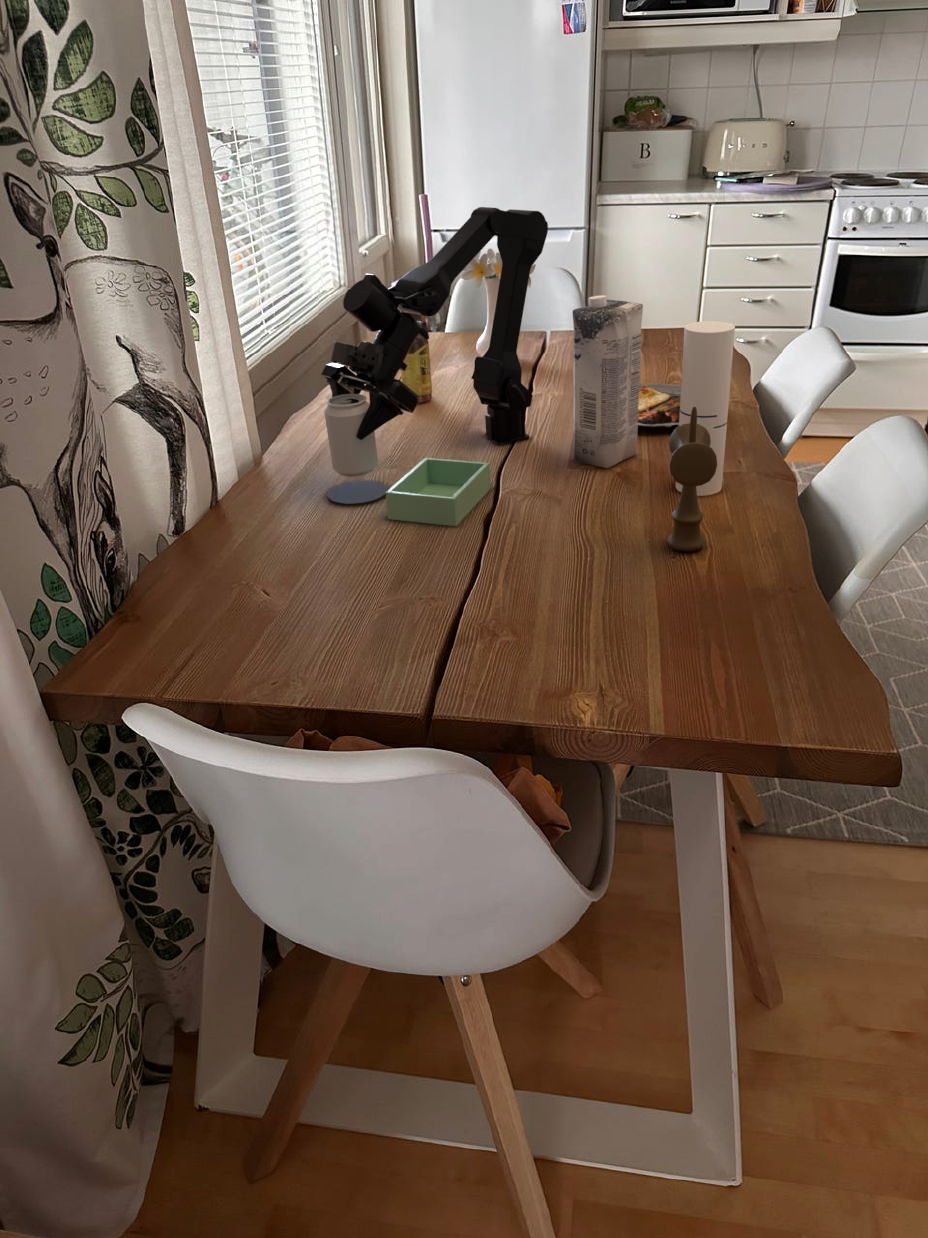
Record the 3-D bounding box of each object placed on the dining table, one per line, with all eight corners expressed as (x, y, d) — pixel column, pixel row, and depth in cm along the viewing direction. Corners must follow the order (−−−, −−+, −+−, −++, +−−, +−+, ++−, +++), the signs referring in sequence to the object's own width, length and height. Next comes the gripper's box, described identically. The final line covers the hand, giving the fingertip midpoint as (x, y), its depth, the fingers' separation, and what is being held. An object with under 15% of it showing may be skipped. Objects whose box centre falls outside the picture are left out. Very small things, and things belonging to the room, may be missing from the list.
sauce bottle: (429, 404, 194) (421, 307, 184) (400, 404, 195) (391, 307, 186) (436, 395, 200) (428, 300, 190) (408, 395, 201) (399, 300, 191)
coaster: (377, 478, 159) (376, 476, 159) (395, 497, 151) (395, 495, 151) (320, 489, 156) (320, 487, 156) (336, 510, 148) (336, 508, 148)
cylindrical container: (670, 480, 150) (678, 323, 138) (713, 476, 151) (725, 319, 138) (682, 497, 144) (692, 334, 132) (727, 493, 145) (742, 330, 132)
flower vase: (537, 365, 216) (535, 251, 203) (458, 368, 217) (452, 255, 205) (537, 351, 227) (535, 242, 215) (462, 354, 229) (456, 246, 216)
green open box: (427, 482, 156) (425, 457, 154) (490, 488, 152) (489, 462, 150) (388, 519, 144) (385, 492, 142) (456, 526, 140) (454, 498, 138)
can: (387, 469, 151) (379, 397, 145) (349, 482, 147) (339, 409, 141) (362, 458, 156) (353, 388, 150) (324, 470, 152) (313, 399, 146)
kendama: (664, 561, 126) (672, 418, 116) (662, 531, 134) (669, 395, 124) (710, 562, 125) (721, 417, 115) (705, 532, 133) (715, 394, 123)
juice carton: (643, 454, 162) (650, 293, 148) (608, 472, 155) (611, 306, 142) (601, 444, 167) (604, 288, 154) (566, 461, 161) (565, 300, 147)
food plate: (659, 444, 165) (660, 425, 164) (564, 418, 181) (564, 401, 179) (741, 410, 179) (743, 392, 177) (646, 389, 195) (646, 372, 193)
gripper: (322, 312, 148) (275, 397, 148) (395, 326, 136) (344, 419, 135) (367, 350, 157) (323, 431, 156) (439, 367, 144) (392, 455, 144)
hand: (343, 433), depth 148 cm, fingers closed on can, 7 cm apart
